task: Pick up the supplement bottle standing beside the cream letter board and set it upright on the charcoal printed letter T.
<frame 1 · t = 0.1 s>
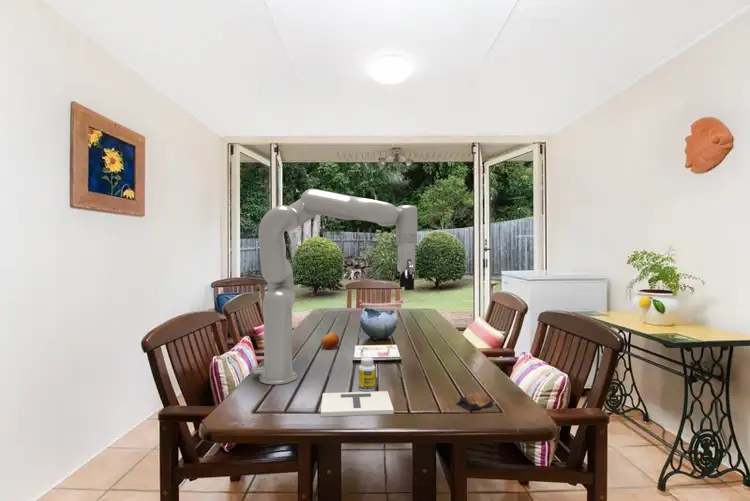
hand: (406, 288, 143), 31 cm above the table, tool pointing down, fingers open, 9 cm apart
fruit: (330, 348, 181), on the table
supplement bottle: (367, 389, 130), on the table
cookie on black wrapper: (475, 406, 118), on the table
letter board: (356, 405, 117), on the table
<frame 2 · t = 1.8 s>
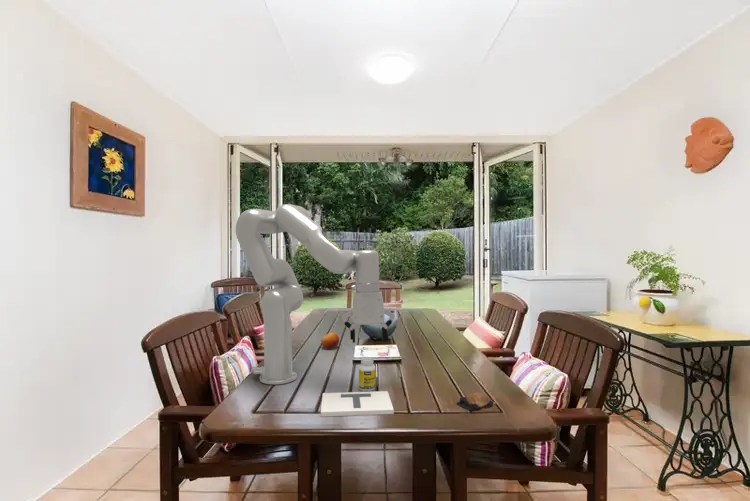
hand: (368, 341, 130), 16 cm above the table, tool pointing down, fingers open, 9 cm apart
nothing on the table moved.
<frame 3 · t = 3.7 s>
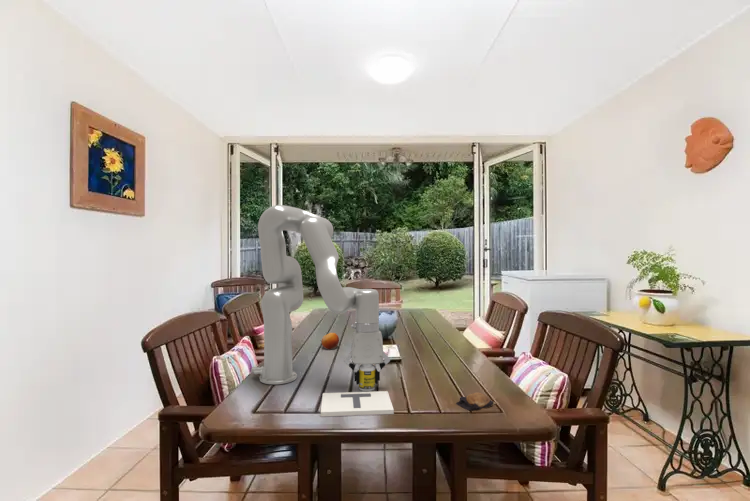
hand: (367, 382, 130), 2 cm above the table, tool pointing down, fingers closed on supplement bottle, 5 cm apart
supplement bottle: (367, 389, 130), on the table, touching gripper
everything else where it was.
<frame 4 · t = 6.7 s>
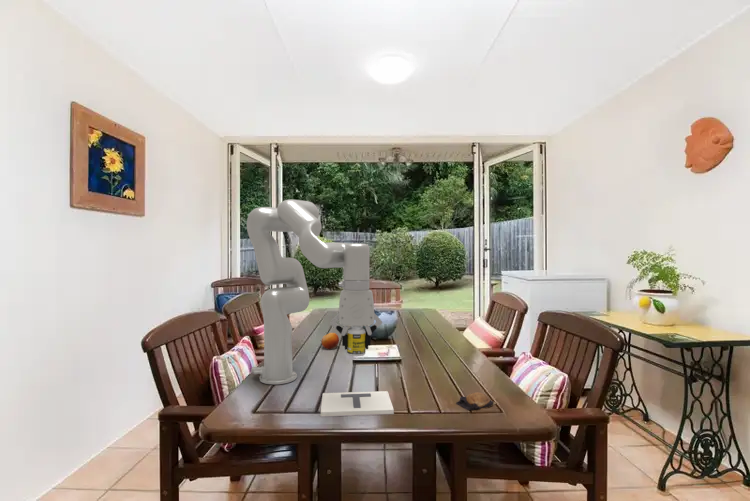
hand: (356, 347, 117), 17 cm above the table, tool pointing down, fingers closed on supplement bottle, 5 cm apart
supplement bottle: (356, 355, 117), point 15 cm above the table, touching gripper
everything else where it was.
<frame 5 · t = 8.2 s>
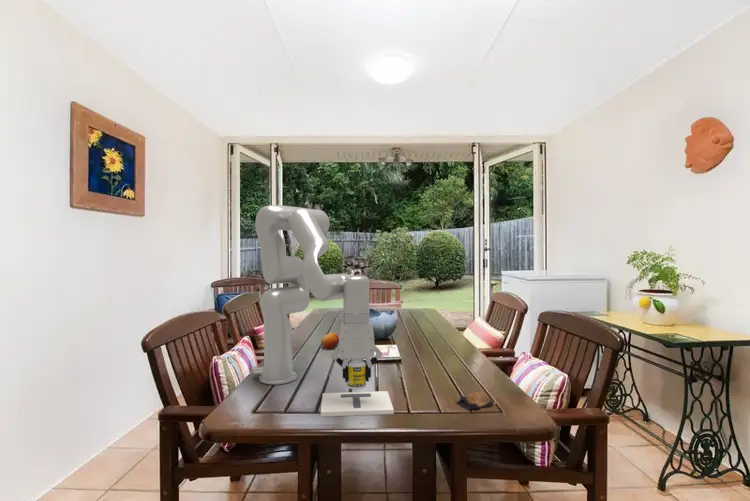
hand: (356, 379, 117), 7 cm above the table, tool pointing down, fingers closed on supplement bottle, 5 cm apart
supplement bottle: (356, 387, 117), point 5 cm above the table, touching gripper
everything else where it was.
when the fingers open (4 cm above the table, at t = 9.7 s): supplement bottle stays where it is, resting on letter board.
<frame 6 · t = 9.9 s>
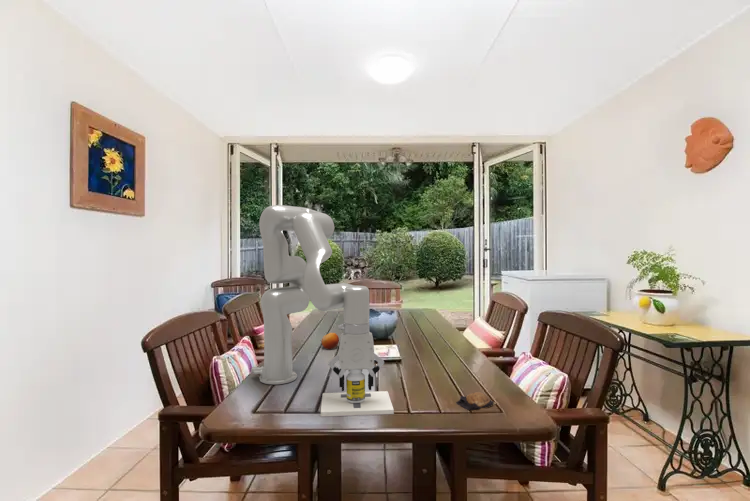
hand: (356, 388, 117), 5 cm above the table, tool pointing down, fingers open, 7 cm apart
supplement bottle: (356, 400, 117), point 1 cm above the table, touching letter board
everything else where it was.
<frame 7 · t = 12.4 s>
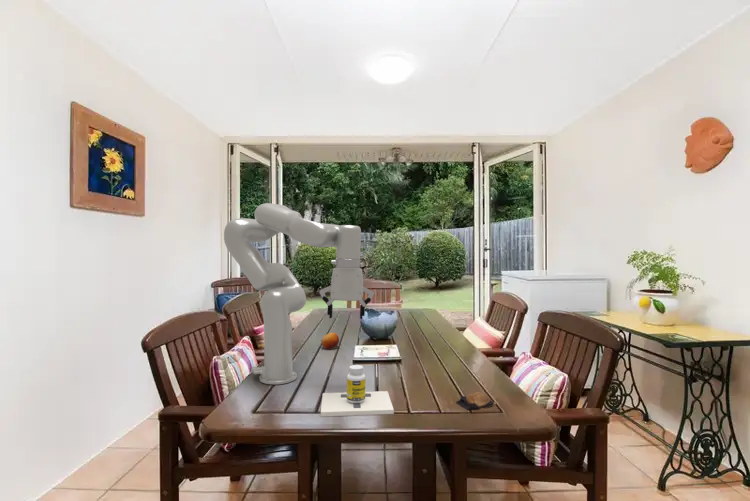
hand: (345, 317, 128), 23 cm above the table, tool pointing down, fingers open, 9 cm apart
nothing on the table moved.
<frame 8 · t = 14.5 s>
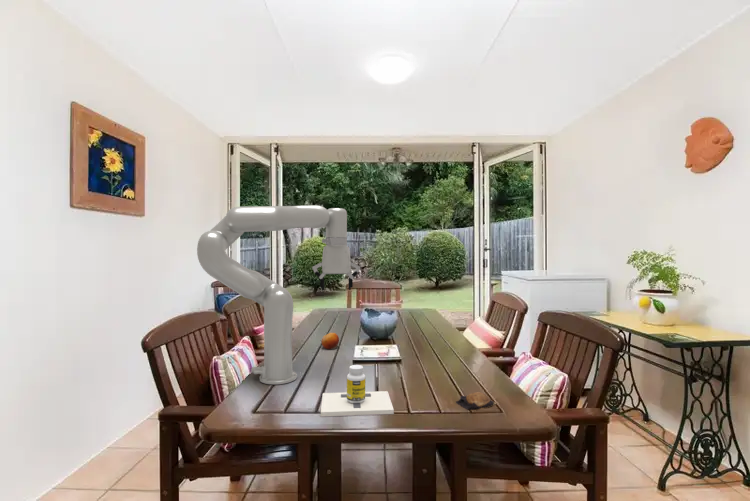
hand: (336, 289, 146), 30 cm above the table, tool pointing down, fingers open, 9 cm apart
nothing on the table moved.
at the end: supplement bottle 0.1 cm off-centre on the letter board, point 1.2 cm above the letter board's base; supplement bottle tilted 0°; the gripper is holding nothing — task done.
